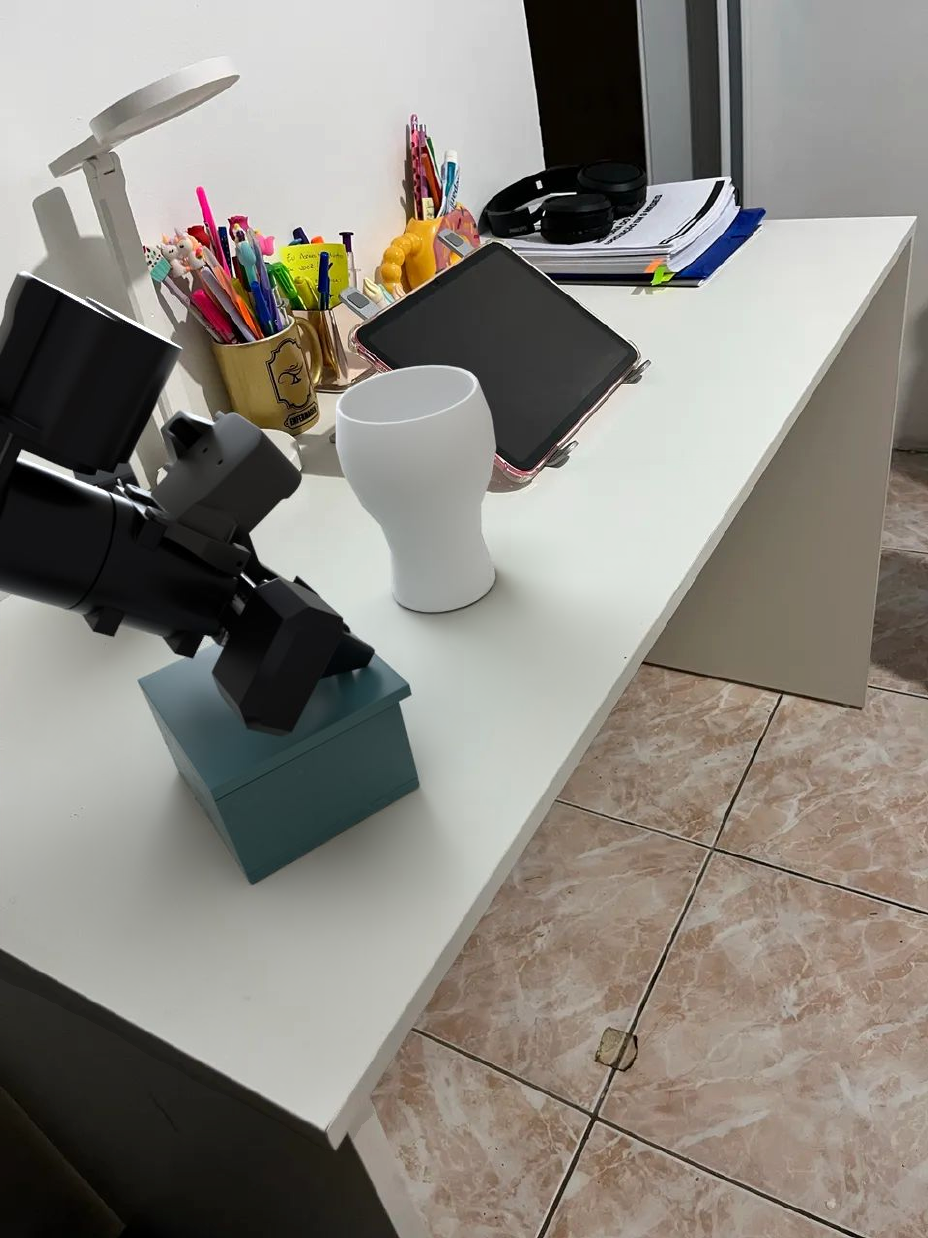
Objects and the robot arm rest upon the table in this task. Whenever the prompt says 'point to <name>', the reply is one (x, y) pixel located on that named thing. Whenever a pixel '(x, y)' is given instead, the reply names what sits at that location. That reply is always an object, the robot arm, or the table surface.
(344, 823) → the teal box
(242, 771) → the box lid
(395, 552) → the white vase
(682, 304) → the table surface
